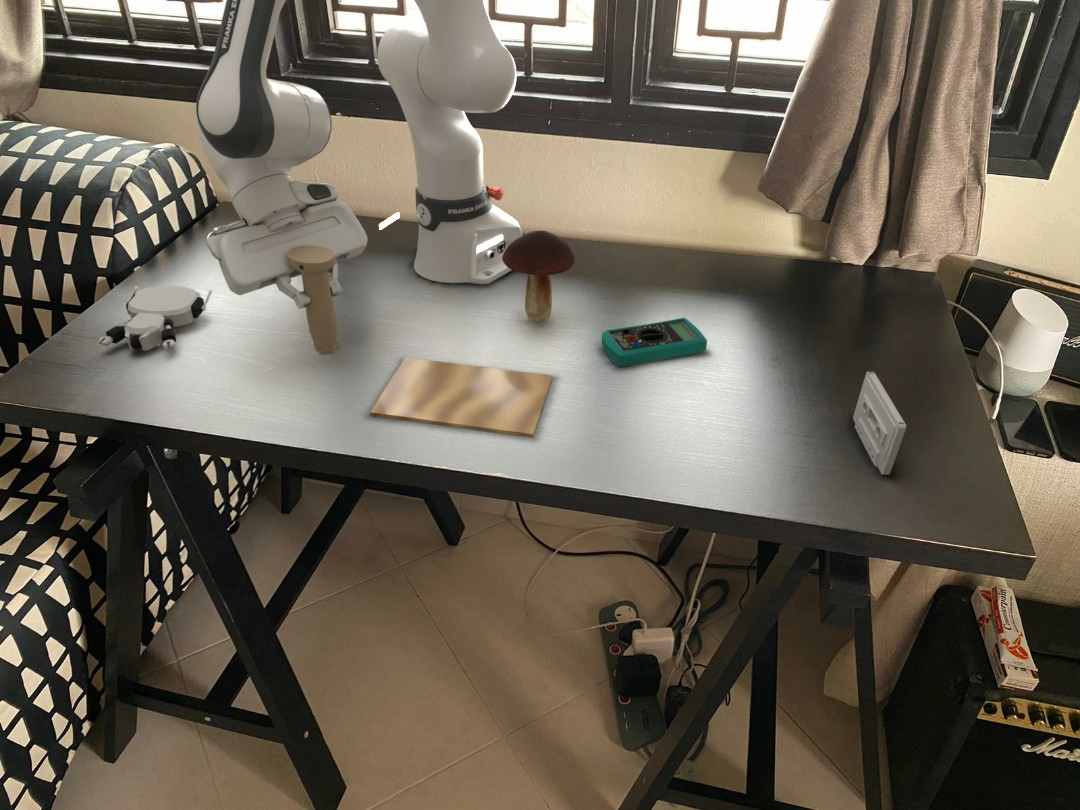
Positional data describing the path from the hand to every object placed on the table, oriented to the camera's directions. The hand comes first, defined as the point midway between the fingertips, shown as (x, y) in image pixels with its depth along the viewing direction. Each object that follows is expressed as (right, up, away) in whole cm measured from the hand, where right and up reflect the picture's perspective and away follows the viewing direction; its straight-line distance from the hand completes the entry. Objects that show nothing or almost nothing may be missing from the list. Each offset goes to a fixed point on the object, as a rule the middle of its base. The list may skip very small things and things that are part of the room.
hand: (321, 300), depth 111 cm
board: (+19, -13, +1) cm, 24 cm away
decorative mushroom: (+29, -1, +19) cm, 35 cm away
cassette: (+72, -20, -6) cm, 75 cm away
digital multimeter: (+47, -6, +12) cm, 49 cm away
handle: (-1, -7, +5) cm, 9 cm away
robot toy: (-28, -3, +14) cm, 31 cm away
